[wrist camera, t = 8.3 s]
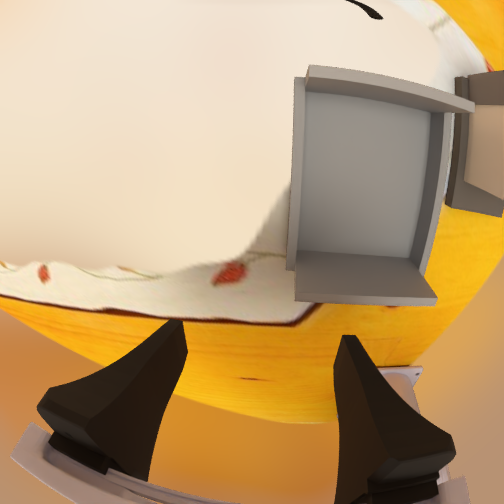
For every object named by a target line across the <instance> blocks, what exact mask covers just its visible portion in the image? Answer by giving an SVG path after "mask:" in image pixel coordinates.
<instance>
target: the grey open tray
mask: <svg viewBox="0 0 504 504" xmlns="http://www.w3.org/2000/svg"><path fill="white" fill-rule="evenodd" d="M452 113H475V103H474V102H472V101H469V100H466V99H464V98H461V97H458V96H456V95H453V94H450V93H447V92H444V91H441V90H438V89H435V88H431V87H428V86H425V85H421V84H418V83H414V82H410V81H406V80H402V79H398V78H394V77H389V76H385V75H380V74H375V73H369V72H364V71H358V70H351V69H344V68H337V67H328V66H318V65H309V67H308V70H307V74H306V77H304V78H303V77H295V79H294V117H293V147H292V172H291V191H290V209H289V225H288V240H287V254H286V270H291V271H295V301H300V302H317V303H335V304H358V305H389V306H435V304H436V301H437V299H438V298H437V296H436V295H435V293H434V292H433V290H432V289H431V287H430V286H429V284H428V283H427V282H426V280H425V279H424V274H425V271H426V267H427V264H428V260H429V257H430V253H431V249H432V246H433V242H434V238H435V233H436V229H437V225H438V220H439V215H440V210H441V205H442V200H443V194H444V188H445V181H446V174H447V167H448V158H449V148H450V136H451V119H452Z"/></svg>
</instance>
